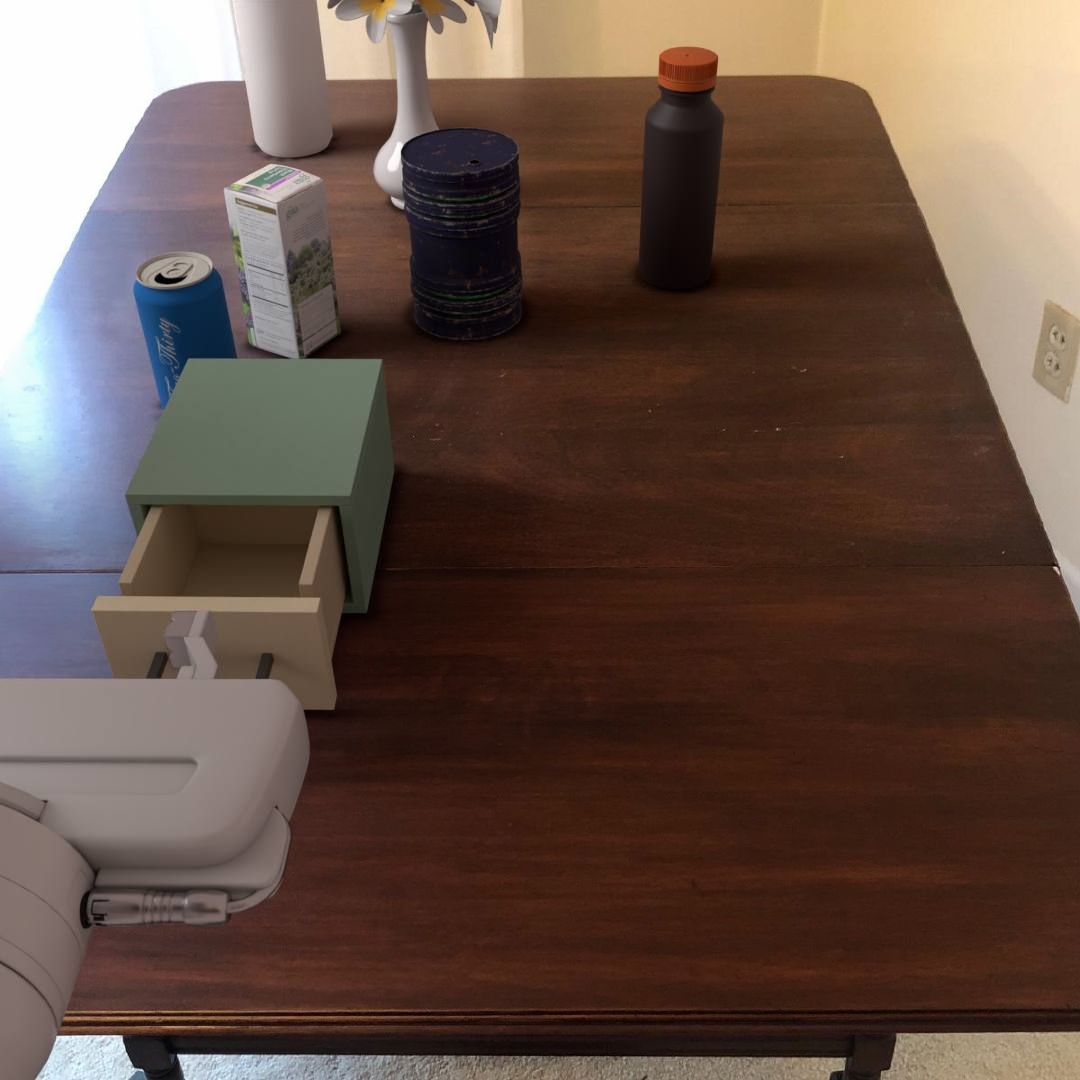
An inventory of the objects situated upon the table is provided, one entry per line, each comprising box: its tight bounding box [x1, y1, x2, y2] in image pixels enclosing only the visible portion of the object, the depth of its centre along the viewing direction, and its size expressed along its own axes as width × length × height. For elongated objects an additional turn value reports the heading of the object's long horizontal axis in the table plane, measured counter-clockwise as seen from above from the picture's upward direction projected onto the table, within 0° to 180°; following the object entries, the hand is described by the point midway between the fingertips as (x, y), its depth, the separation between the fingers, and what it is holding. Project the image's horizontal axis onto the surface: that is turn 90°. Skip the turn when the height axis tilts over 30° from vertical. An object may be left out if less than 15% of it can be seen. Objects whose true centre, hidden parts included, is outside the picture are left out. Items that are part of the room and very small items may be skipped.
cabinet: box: [124, 358, 395, 614], centre depth 82 cm, size 16×14×10 cm
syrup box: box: [223, 163, 342, 359], centre depth 101 cm, size 6×6×14 cm
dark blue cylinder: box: [401, 127, 524, 341], centre depth 104 cm, size 10×10×15 cm
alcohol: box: [231, 0, 334, 158], centre depth 130 cm, size 9×9×30 cm
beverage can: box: [132, 251, 238, 411], centre depth 94 cm, size 6×6×12 cm
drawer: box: [90, 505, 349, 711], centre depth 73 cm, size 19×12×8 cm, turn 179°
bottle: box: [637, 46, 725, 291], centre depth 108 cm, size 7×7×20 cm
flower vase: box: [326, 0, 502, 211], centre depth 120 cm, size 13×18×25 cm
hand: (80, 621), depth 49 cm, fingers open, 8 cm apart
